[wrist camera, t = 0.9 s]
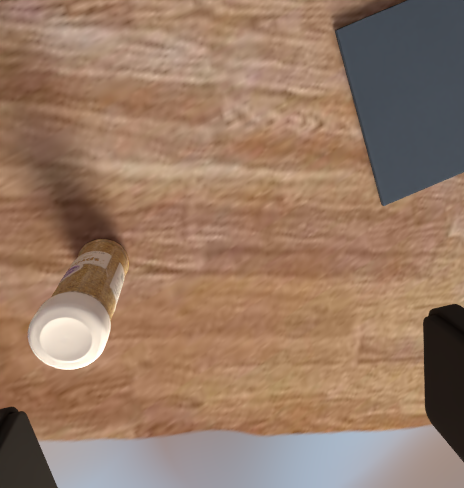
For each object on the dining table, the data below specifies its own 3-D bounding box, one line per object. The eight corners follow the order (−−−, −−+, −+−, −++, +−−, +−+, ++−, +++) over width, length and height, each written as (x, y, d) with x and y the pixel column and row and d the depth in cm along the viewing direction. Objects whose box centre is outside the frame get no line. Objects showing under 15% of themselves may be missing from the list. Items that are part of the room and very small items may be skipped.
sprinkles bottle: (95, 227, 36) (51, 290, 23) (139, 255, 37) (121, 329, 24) (68, 267, 36) (10, 349, 24) (112, 293, 38) (79, 384, 25)
